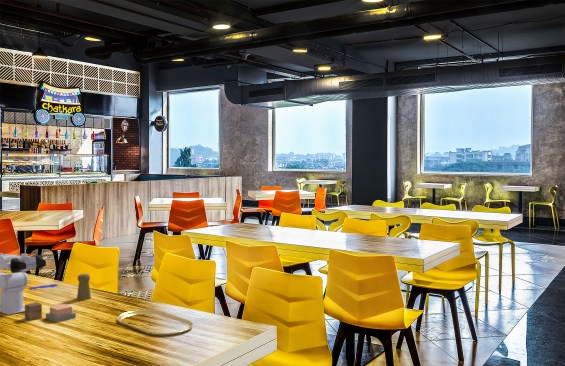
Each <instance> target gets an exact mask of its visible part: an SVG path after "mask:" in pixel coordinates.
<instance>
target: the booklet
mask: <svg viewBox="0 0 565 366" xmlns="http://www.w3.org/2000/svg"><path fill="white" fill-rule="evenodd" d="M55 287H59V285H57V283H55V284H53V283H52V284H46V285H39V286H38V285H37V286H31V287H29V289H30V290H31V289H34V290H37V289H36V288H41V289H48V288H55ZM48 294H49V295H50V294H52V292H51V293H48ZM42 295H45V294H42Z"/></svg>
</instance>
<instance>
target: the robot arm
mask: <svg viewBox="0 0 565 366" xmlns="http://www.w3.org/2000/svg"><path fill="white" fill-rule="evenodd" d="M46 266H47V260H45V258H44V257H43V255H41V254H38V255H35V257H32V256H28V253H27V252H26V253H21V254H20V255H18V254H16V253H14V254H8V253H3V252H1V253H0V270H1V271H5V270H6V271H7V270H10V272H11V273H4V272H0V290H1V292H0V313H3V314H5V315H8V316H9V315H15V314H19V313H23V312H24V313H25V307H24V290H25V289H26V287H27V286H28V283H29V277H28V274H27V273H26V272H28V271H30V270H32V269H34V268H36V270H37V271H38V270H42V269H43V268H44V267H46Z"/></svg>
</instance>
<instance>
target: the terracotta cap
mask: <svg viewBox="0 0 565 366" xmlns="http://www.w3.org/2000/svg"><path fill="white" fill-rule="evenodd" d="M72 312H73V306H71V305H68V304H66V303H62V304H57V305H53V306H49V313H50V314H53V315H55V316H61V315H65V314H70V313H72Z"/></svg>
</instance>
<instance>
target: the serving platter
mask: <svg viewBox="0 0 565 366" xmlns="http://www.w3.org/2000/svg"><path fill="white" fill-rule="evenodd" d="M135 315H156V316H160V317H163V318H166V317H167V319H168V318H170V319H169V320H171V319H173V320H172V321H174V320H177V321H180V322H183V323H186V324H188V325H189V326H190V327H189V328H187V329H183V330H179V331H174V332H152V331H148V330H145V329H142V328H139V327H137V326H134V325H131V324H128V323H126V322H123V321H122V320H123V319H125V318H128V317H130V316H131V317H132V316H135ZM117 321H118V322H119V323H120V324H121V325H124V326H127V327H129V328H132V329H135V330H137V331H140V332H142V333H144V334H148V335H150V334H151V335H150V336H156V335H157V336H159V337H165V336H166V335H170V336H176V335H175V334H177V335H181V334H184V333H187V332H189V330H191V329H192V327H193V325H194V324H193V322H192V321H191V320H189V319H186V318H183V317H180V316H178V315H177V316H176V315H173V314H171V313H167V312H165V311H162V310H156V309H155V310H154V309H142V310H141V309H139V310H138V309H137V310H132V311H127V312H124V313H122V314H120V315H118V316H117ZM177 321H176V322H177ZM180 322H179V323H180ZM183 323H182V324H183ZM186 324H185V325H186ZM186 331H187V332H186ZM180 333H181V334H180ZM157 336H156V337H157ZM166 337H167V336H166Z"/></svg>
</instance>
